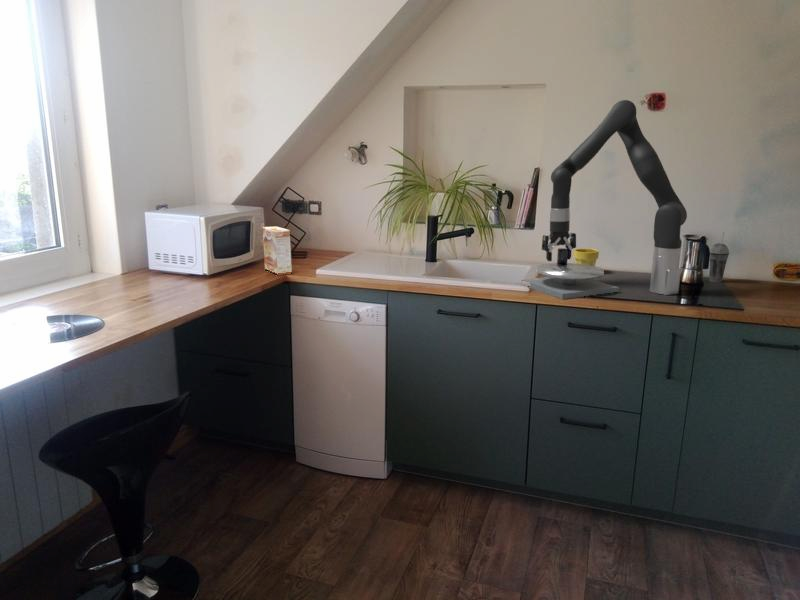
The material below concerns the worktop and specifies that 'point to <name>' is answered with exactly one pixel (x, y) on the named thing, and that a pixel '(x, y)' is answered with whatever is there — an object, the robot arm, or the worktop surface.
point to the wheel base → (570, 287)
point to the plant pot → (586, 256)
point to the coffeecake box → (277, 249)
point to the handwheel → (569, 268)
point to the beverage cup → (718, 261)
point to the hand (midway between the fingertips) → (558, 260)
